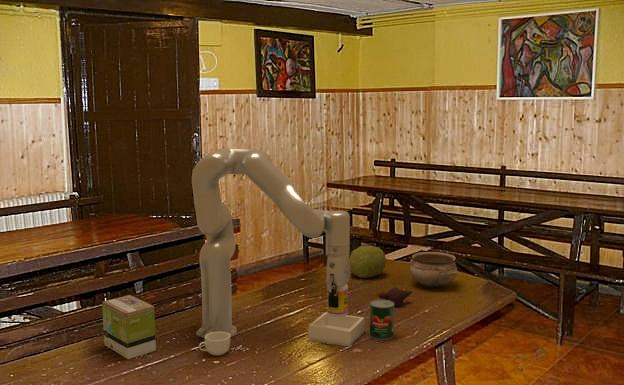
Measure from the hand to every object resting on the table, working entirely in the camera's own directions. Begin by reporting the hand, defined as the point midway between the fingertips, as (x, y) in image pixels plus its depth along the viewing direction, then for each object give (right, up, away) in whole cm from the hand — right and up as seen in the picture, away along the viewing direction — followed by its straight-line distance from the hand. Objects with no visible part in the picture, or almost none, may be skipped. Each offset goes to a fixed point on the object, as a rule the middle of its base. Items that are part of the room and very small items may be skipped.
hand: (337, 303), depth 214 cm
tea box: (-64, -13, -9) cm, 66 cm away
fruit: (+16, -1, +71) cm, 73 cm away
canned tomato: (+14, -11, +2) cm, 18 cm away
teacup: (-38, -13, -13) cm, 42 cm away
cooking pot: (+41, -3, +57) cm, 71 cm away
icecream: (+23, -6, +33) cm, 41 cm away
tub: (0, -11, +2) cm, 11 cm away
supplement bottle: (0, -4, +1) cm, 4 cm away
